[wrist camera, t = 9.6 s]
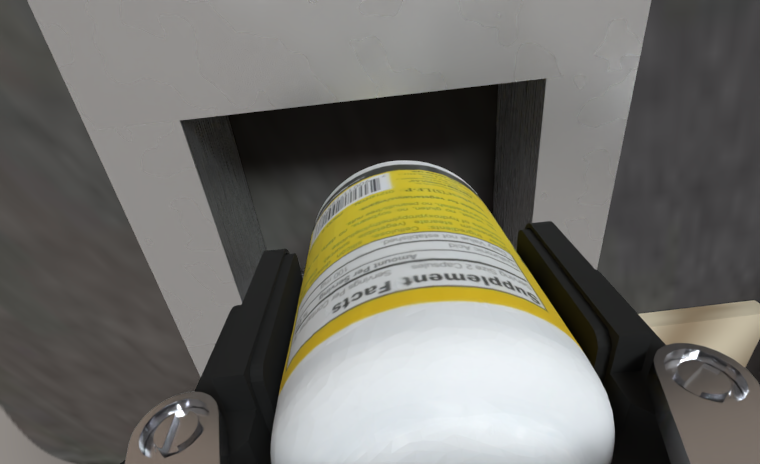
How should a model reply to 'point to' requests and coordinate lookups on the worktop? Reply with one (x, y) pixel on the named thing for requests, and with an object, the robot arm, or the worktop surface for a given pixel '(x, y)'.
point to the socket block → (330, 85)
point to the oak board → (711, 327)
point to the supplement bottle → (429, 338)
